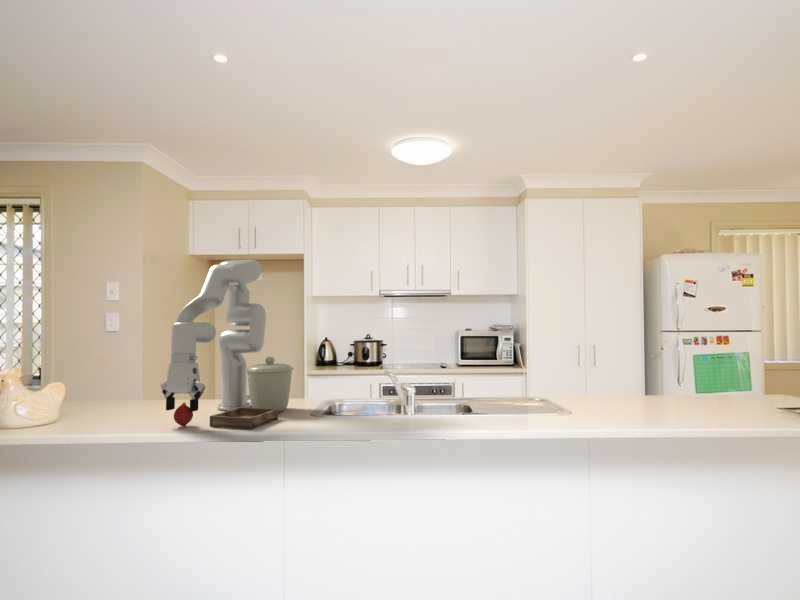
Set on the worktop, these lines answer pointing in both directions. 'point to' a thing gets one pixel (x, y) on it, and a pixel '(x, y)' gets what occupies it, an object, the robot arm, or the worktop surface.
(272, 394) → the canister
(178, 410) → the onion
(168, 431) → the worktop surface
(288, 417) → the worktop surface
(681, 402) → the worktop surface
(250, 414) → the walnut tray
